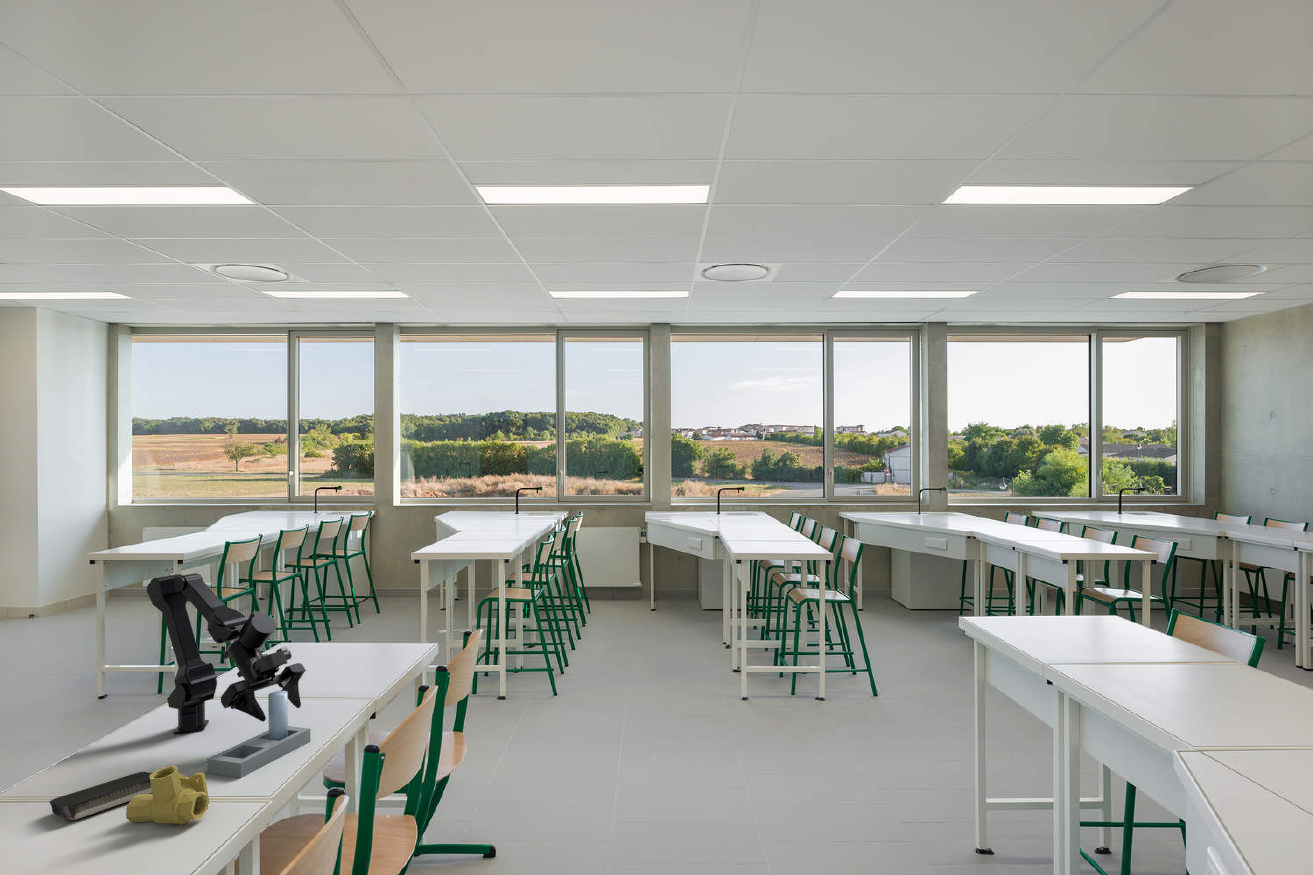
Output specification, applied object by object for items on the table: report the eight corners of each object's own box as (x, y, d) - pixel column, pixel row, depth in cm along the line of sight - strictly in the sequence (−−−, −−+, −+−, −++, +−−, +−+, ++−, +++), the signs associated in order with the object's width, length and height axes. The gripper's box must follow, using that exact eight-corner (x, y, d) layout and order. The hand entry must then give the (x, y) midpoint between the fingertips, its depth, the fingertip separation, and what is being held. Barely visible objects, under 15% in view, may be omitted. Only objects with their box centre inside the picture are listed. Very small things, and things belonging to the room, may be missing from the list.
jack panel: (240, 777, 156) (240, 763, 156) (207, 772, 159) (207, 758, 159) (310, 741, 176) (310, 728, 176) (279, 737, 178) (279, 724, 178)
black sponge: (64, 828, 137) (64, 808, 137) (48, 816, 142) (48, 796, 142) (163, 794, 150) (163, 775, 150) (145, 783, 155) (145, 766, 155)
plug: (267, 747, 172) (266, 693, 173) (286, 742, 175) (285, 689, 175) (270, 752, 169) (270, 697, 169) (289, 748, 172) (289, 693, 172)
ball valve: (192, 834, 135) (228, 800, 145) (182, 780, 134) (219, 749, 144) (126, 836, 136) (166, 802, 146) (116, 783, 135) (157, 752, 145)
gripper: (228, 648, 166) (263, 704, 161) (300, 629, 183) (333, 679, 178) (205, 679, 169) (238, 736, 164) (278, 658, 186) (309, 708, 181)
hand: (282, 713), depth 172 cm, fingers open, 9 cm apart
